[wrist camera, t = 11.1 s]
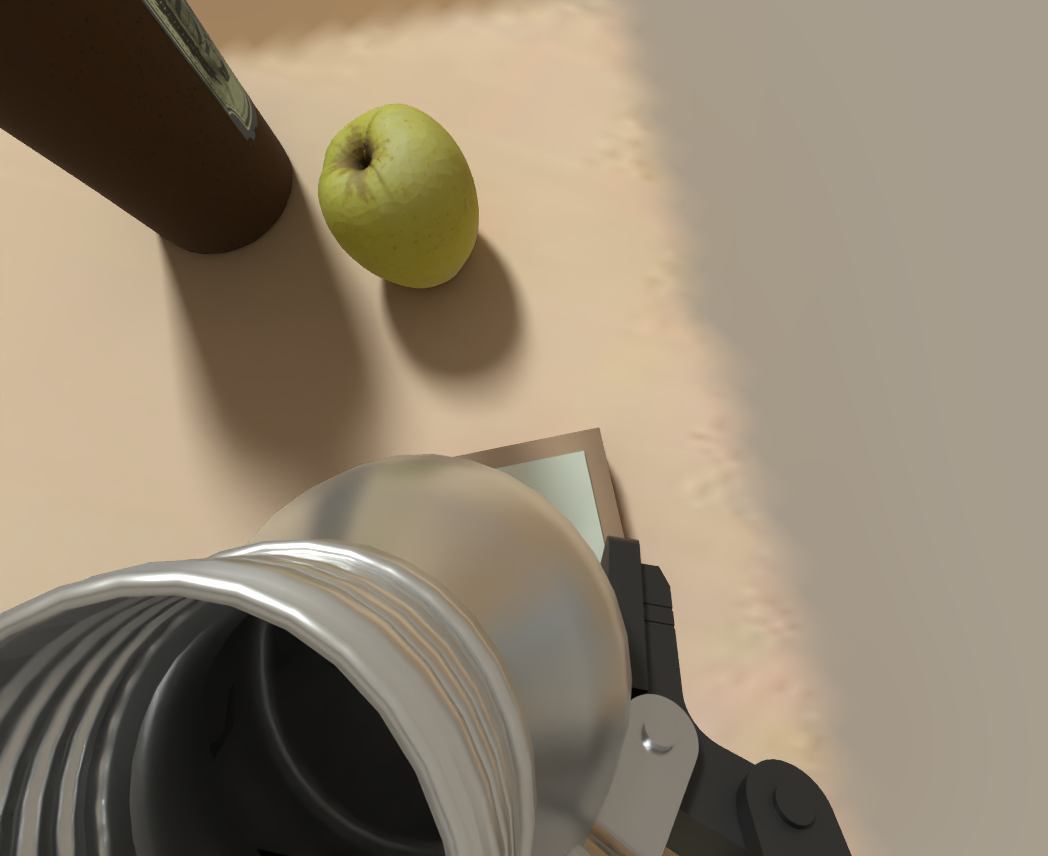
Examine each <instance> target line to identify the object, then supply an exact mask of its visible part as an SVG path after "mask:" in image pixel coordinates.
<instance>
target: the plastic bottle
mask: <svg viewBox="0 0 1048 856" xmlns="http://www.w3.org/2000/svg"><path fill="white" fill-rule="evenodd" d="M233 682H234V726H233V729H232V731H231V732H230V734H229V736H228V737H227V739H226V741H225V742H224V744H223V746H222V747H221V749H220V751H219V752H218V754H217V756H216V757H215V759H214V757H213V756H212V754H211V753H210V745H211V743H212V742H213V741H216V740H219V739H220V738H221V737H222V735H223V732H224V728H225V721H226V713H227V706H228V698H229V692H230V689H231V686H232V684H233ZM631 688H632V673H631V664H630V655H629V646H628V636H627V632H626V628H625V625H624V622H623V618H622V615H621V612H620V608H619V605H618V602H617V598H616V595H615V592H614V590H613V588H612V586H611V584H610V582H609V580H608V578H607V576H606V574H605V572H604V570H603V568H602V566H601V564H600V562H599V560H598V558H597V556H596V554H595V553H594V552H593V550H592V549H591V548H590V546H589V545H588V544H587V542H586V541H585V540H584V538H583V537H582V536H581V534H580V533H579V532H578V531H577V529H576V528H575V527H574V525H573V524H572V523H571V521H570V520H569V519H568V518H567V517H565V516H564V515H563V514H562V513H561V512H560V511H559V510H558V509H557V508H555V507H554V506H553V505H552V504H551V503H550V502H549V501H548V500H547V499H545V498H544V497H543V496H542V495H541V494H540V493H538V492H537V491H535V490H533V489H532V488H530V487H528V486H527V485H525V484H523V483H522V482H520V481H519V480H517V479H515V478H514V477H512V476H510V475H509V474H507V473H505V472H502V471H499V470H497V469H494V468H491V467H488V466H486V465H483V464H480V463H478V462H475V461H472V460H468V459H462V458H455V457H449V456H443V455H436V454H423V455H399V456H393V457H389V458H384V459H380V460H376V461H372V462H368V463H364V464H360V465H358V466H356V467H354V468H351V469H349V470H347V471H345V472H343V473H341V474H339V475H336V476H334V477H332V478H330V479H328V480H326V481H324V482H322V483H320V484H318V485H316V486H314V487H312V488H310V489H308V490H306V491H305V492H304V493H302V494H301V495H300V496H298V497H297V498H295V499H294V500H293V501H291V502H290V503H289V504H287V505H286V506H284V507H283V508H282V509H280V510H279V511H277V512H276V513H275V514H274V515H273V516H272V517H271V518H270V519H269V520H268V521H267V522H266V523H265V524H264V525H263V526H262V528H261V529H260V530H259V531H258V532H257V533H256V534H255V535H254V536H253V537H252V538H251V539H250V540H249V541H248V542H247V544H246V545H245V546H242V547H238V548H233V549H229V550H225V551H221V552H218V553H216V554H214V555H212V556H210V557H208V558H204V559H190V560H181V561H165V562H150V563H146V564H141V565H137V566H133V567H129V568H125V569H121V570H117V571H113V572H108V573H104V574H100V575H96V576H92V577H90V578H88V579H86V580H84V581H80V582H76V583H72V584H67V585H63V586H59V587H57V588H55V589H53V590H51V591H48V592H46V593H44V594H42V595H40V596H38V597H35V598H33V599H31V600H29V601H27V602H25V603H22V604H20V605H18V606H16V607H14V608H12V609H10V610H7V611H5V612H3V613H1V614H0V856H261V854H260V853H259V851H258V850H257V849H261V850H265V851H269V852H274V853H278V854H282V855H287V856H565V855H566V854H567V853H568V852H569V851H570V850H571V849H572V848H573V847H574V846H575V845H576V844H578V843H579V842H580V841H581V840H582V839H583V838H584V837H585V836H587V835H588V834H589V832H590V830H591V828H592V826H593V824H594V822H595V820H596V818H597V816H598V813H599V811H600V809H601V807H602V805H603V803H604V801H605V799H606V797H607V795H608V793H609V790H610V787H611V784H612V781H613V779H614V776H615V773H616V770H617V767H618V763H619V759H620V756H621V752H622V748H623V744H624V741H625V737H626V733H627V730H628V726H629V715H630V702H631Z"/></svg>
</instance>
